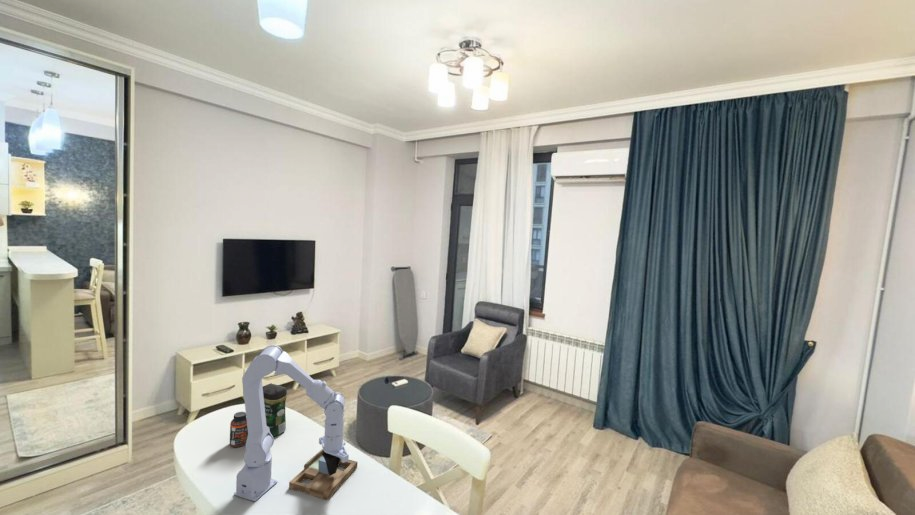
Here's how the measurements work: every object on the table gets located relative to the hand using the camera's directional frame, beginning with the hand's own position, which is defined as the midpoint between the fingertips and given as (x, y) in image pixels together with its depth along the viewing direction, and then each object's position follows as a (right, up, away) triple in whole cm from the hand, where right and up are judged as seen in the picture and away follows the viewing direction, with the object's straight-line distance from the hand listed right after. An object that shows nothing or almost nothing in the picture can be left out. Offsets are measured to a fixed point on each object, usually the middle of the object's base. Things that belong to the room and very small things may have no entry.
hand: (332, 473), depth 124 cm
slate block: (-3, -1, +3) cm, 4 cm away
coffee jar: (-32, +1, +27) cm, 42 cm away
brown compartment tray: (-3, -3, +2) cm, 5 cm away
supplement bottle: (-40, +1, +18) cm, 44 cm away
